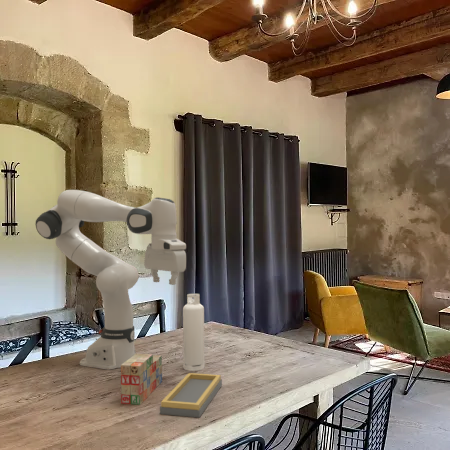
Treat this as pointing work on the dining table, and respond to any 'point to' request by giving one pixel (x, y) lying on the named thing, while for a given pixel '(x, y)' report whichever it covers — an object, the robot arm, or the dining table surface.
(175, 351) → the dining table surface
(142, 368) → the stack of blocks
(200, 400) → the yellow and grey tray
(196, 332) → the bottle
